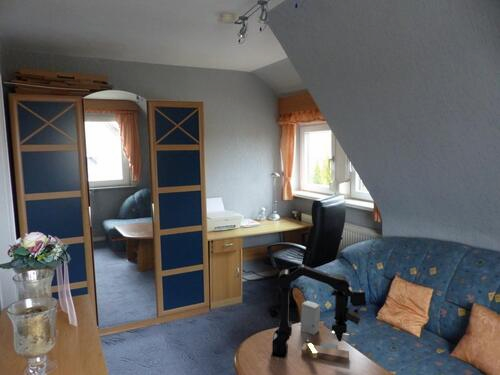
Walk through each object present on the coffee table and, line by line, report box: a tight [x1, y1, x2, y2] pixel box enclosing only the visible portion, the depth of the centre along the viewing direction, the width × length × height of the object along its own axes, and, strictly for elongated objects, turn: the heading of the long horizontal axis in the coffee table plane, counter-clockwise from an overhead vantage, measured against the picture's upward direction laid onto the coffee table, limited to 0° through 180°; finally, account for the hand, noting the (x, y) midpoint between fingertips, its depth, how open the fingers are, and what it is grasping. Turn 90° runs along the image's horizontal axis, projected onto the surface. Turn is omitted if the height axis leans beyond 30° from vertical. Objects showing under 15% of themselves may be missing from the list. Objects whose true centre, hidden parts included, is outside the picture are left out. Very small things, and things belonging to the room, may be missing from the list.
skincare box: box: [300, 300, 322, 336], centre depth 193 cm, size 8×6×15 cm
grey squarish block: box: [331, 327, 350, 342], centre depth 167 cm, size 7×6×4 cm
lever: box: [304, 338, 318, 359], centre depth 168 cm, size 11×3×3 cm, turn 11°
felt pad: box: [319, 341, 338, 349], centre depth 178 cm, size 8×7×1 cm
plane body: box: [300, 342, 350, 365], centre depth 170 cm, size 21×6×3 cm, turn 71°
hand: (340, 337), depth 167 cm, fingers closed on grey squarish block, 6 cm apart
